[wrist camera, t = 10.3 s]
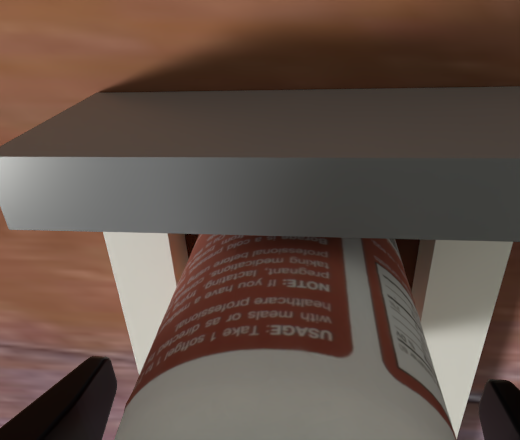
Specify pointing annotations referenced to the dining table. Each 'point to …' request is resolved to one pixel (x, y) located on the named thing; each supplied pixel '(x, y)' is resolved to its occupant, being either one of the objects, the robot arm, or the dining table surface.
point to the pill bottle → (289, 347)
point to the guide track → (287, 191)
